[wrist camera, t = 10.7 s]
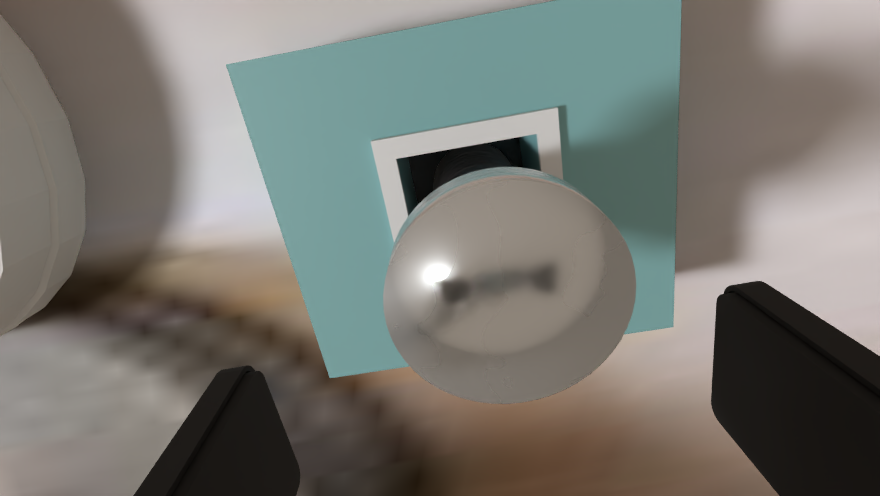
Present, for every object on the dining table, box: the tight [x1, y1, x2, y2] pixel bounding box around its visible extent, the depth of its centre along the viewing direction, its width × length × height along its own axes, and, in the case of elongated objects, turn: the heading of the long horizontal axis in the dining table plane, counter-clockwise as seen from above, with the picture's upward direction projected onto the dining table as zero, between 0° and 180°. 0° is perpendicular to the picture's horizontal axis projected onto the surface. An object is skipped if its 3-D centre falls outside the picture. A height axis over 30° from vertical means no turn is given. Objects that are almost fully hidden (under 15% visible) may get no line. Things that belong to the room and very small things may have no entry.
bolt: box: [383, 143, 636, 404], centre depth 17 cm, size 6×6×12 cm
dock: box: [226, 0, 682, 378], centre depth 20 cm, size 14×16×5 cm
